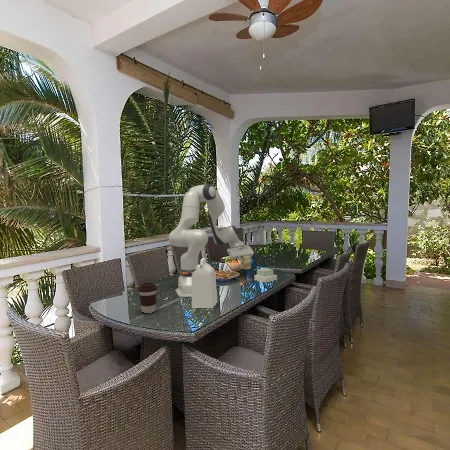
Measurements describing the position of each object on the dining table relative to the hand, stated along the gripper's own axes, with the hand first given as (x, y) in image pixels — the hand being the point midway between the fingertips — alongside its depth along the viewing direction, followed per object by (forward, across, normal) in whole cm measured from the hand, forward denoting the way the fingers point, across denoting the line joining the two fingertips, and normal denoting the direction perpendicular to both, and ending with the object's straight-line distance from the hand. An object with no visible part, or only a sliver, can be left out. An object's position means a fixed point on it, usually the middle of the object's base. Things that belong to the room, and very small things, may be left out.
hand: (246, 261), depth 253 cm
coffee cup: (+23, -85, -4) cm, 88 cm away
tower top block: (+16, +5, -4) cm, 17 cm away
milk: (+31, -57, -12) cm, 66 cm away
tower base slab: (+19, +5, -1) cm, 20 cm away
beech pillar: (+3, 0, +4) cm, 5 cm away
